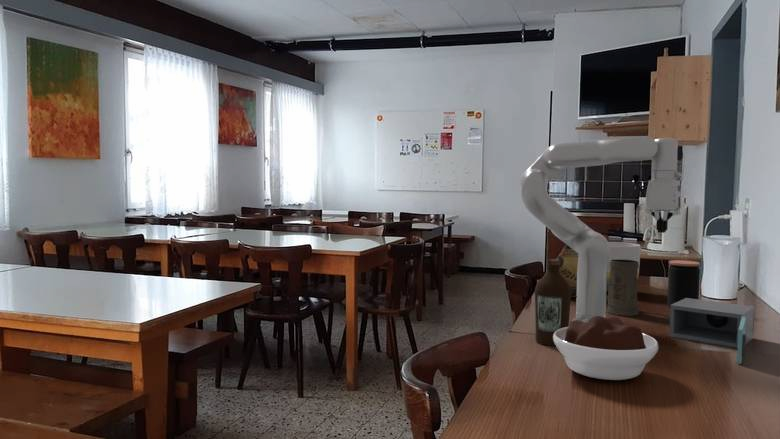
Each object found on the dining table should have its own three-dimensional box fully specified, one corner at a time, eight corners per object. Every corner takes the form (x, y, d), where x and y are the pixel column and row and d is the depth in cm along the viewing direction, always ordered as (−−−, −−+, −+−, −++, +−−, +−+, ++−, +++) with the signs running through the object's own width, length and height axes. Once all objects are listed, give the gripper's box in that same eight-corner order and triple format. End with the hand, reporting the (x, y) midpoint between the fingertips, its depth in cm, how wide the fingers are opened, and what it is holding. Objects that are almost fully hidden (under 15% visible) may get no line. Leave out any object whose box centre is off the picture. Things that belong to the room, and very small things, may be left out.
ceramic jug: (588, 300, 247) (590, 227, 245) (549, 298, 250) (551, 226, 248) (583, 292, 264) (585, 224, 262) (547, 291, 267) (549, 223, 265)
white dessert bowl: (575, 354, 170) (576, 301, 169) (669, 372, 155) (671, 314, 154) (535, 375, 151) (536, 316, 150) (638, 399, 135) (641, 333, 134)
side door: (747, 348, 176) (749, 316, 176) (744, 364, 160) (746, 330, 160) (740, 347, 177) (741, 316, 177) (736, 363, 161) (737, 329, 161)
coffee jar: (691, 306, 238) (693, 260, 237) (702, 311, 227) (704, 264, 226) (663, 305, 239) (665, 259, 238) (673, 311, 228) (675, 263, 227)
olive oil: (538, 335, 190) (540, 256, 189) (573, 340, 185) (575, 259, 183) (529, 343, 181) (531, 260, 179) (565, 348, 176) (567, 263, 174)
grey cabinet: (740, 348, 177) (742, 314, 177) (669, 336, 191) (670, 304, 190) (753, 338, 189) (754, 306, 189) (684, 327, 203) (686, 297, 202)
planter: (591, 295, 258) (593, 245, 257) (590, 287, 277) (592, 241, 275) (641, 298, 253) (642, 247, 251) (636, 290, 271) (638, 242, 270)
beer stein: (632, 317, 216) (636, 261, 216) (602, 313, 222) (605, 259, 222) (644, 313, 228) (647, 260, 228) (615, 309, 235) (618, 258, 234)
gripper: (691, 176, 195) (689, 233, 196) (644, 176, 205) (642, 230, 206) (684, 176, 190) (682, 234, 191) (636, 176, 200) (634, 231, 201)
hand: (661, 232), depth 199 cm, fingers closed
